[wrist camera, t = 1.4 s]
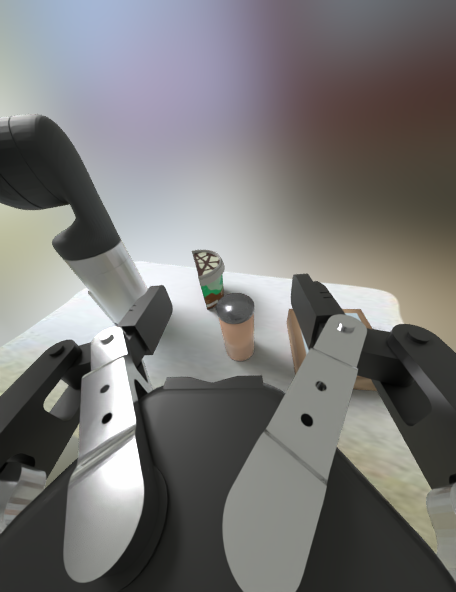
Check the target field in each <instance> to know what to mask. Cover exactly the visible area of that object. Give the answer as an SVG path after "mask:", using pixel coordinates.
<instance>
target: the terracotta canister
mask: <svg viewBox="0 0 456 592" xmlns="http://www.w3.org/2000/svg"><path fill="white" fill-rule="evenodd" d="M216 310H217V315H218V317H219V321H220V325H221V330H222V334H223V339H224V343H225V348H226V352H227V354H228V356H229V357H230V358H231V359H233V360H236V361H244V360H247V359H249V358H250V357H251V356H252V354H253V352H254V302H253V300H252V299H251V298H250V297H249V296H247V295H245V294H241V293H232V294H228V295H226V296H224V297H222V298H221V299H220V300H219V301H218V303H217V305H216Z"/></svg>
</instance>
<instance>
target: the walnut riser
mask: <svg viewBox="0 0 456 592" xmlns="http://www.w3.org/2000/svg"><path fill="white" fill-rule="evenodd" d="M342 310H343V311H344V313H345V314H346V315H349V316H352V317H354V318H356V319H358V320H360V321H361V322H362V323H363V324H364V325H365V326H366V328H369V329H372V327H371V326H370V324H369V322H368V321H367V319H366V317H365V316H364V314H363V312H362V311H361V309H342ZM287 328H288V334H289V340H290V346H291V351H292V357H293V363H294V369H295V375H296V373H297V371H298V370H299V368H300V366H301V364H302V362H303V360H304V359H305V357H306V355H307V353H308V351H309V350H308V347H307V344H306V342H305V339H304V337H303V334H302V331H301V329H300V326H299V323H298V321H297V318H296V316H295V313H294V310H293V309H289V312H288V318H287ZM353 389H358V390H372V391H377V389H376V388H375V386H374V384H373V382H372V380H371V379H369V378H365V377H361V376H357V377H356V380H355V384H354V387H353Z"/></svg>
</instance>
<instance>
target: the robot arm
mask: <svg viewBox="0 0 456 592" xmlns="http://www.w3.org/2000/svg"><path fill="white" fill-rule="evenodd" d="M0 203H2V204H5V205H8V206H11V207H14V208H18V209H23V210H41V209H47V208H53V207H58V206H63V205H68V204H70V205H71V207H72V209H73V211H74V214H75V216H76V219H75V221H74V222H73V224H72V225H71V226H70V227H68V228H67V229H65V230H64V231H62V232H61V233H59V234H58V235H57V236H56V237H55V238H54V239H53V241H52V245H53V247H54V249H55V250H56V251H57V252H58V254H59V255H60V256H61V257H62V258H63V260H64V261H65V262H66V263H67V264H68V265H69V267H70V268H71V269H72V270H73V272H74V273H75V274H76V275H77V276H78V277H79V279H80V280H81V281H82V282H83V283H84V285H85V286H86V287H87V288H88V289H89V291H88V294H89V295H90V296H91V297H92V298H93V300H94V301H95V302H96V303H97V304H98V305H99V307H100V308H101V309H102V310H103V311H104V313H105V314H106V315H107V316H108V317H109V318H110V320H111V321H112V322H113V323H117V324H118V325H117V326H116V327H112V328H109V329H106V330H104V331H102V332H101V333H99V334H98V335H97V336H96V337H95V338H94V339H93V340H92V342H91V343H87V344H84V345H80V346H78V345H77V344H76V343H75V342H74V341H73V340H65V341H61V342H59V343H57V344H55V345H53V346H52V347H50V348H49V349H47V350H46V351H45V352H44V353H43V354H42V355H41V356H40V357H39V358H38V359H37V360H36V361H35V362H34V363H33V364H32V365H31V366H30V367H29V368H28V369H27V370H26V371H25V372H24V373H23V374H22V375H21V376H20V377H19V378H18V379H17V380H16V381H15V382H14V383H13V384H12V385H11V386H10V387H9V388H8V389H7V390H6V391H5V392H4V393H3V394H2V395H1V396H0V592H456V353H455V352H454V351H453V350H452V349H451V348H450V347H449V346H447V345H446V344H445V343H444V342H443V341H442V340H441V339H440V338H439V337H437V336H436V335H435V334H433V333H432V332H430V331H428V330H426V329H424V328H421V327H418V326H415V325H410V324H399V325H396V326H395V327H393V329H392V331H391V332H386V331H380V330H375V329H369V328H366V326H365V325H364V324H363V323H362V322H361V321H360V320H358V319H356V318H354V317H352V316H349V315H346V314H345V313H344V311H343V310H342V309H341V307H340V306H339V304H338V303H337V302H336V300H335V299H334V298H333V296H332V295H331V293H329V291H328V289H327V288H326V286H324V285H323V284H321V283H320V282H318V281H314V282H313V281H312V279H311V278H310V276H309V275H308V274H297V275H293V280H292V289H291V305H292V308H293V310H294V313H295V316H296V318H297V321H298V323H299V326H300V329H301V331H302V334H303V337H304V339H305V342H306V344H307V347H308V350H309V351H308V353H307V355H306V357H305V359H304V360H303V362H302V364H301V366H300V368H299V370H298V371H297V373H296V375H295V377H294V379H293V381H292V382H291V384H290V386H289V388H288V390H287V392H286V394H285V393H284V392H282V391H281V390H279V389H277V388H276V387H273V386H271V385H268V384H265V383H263V380H262V376H236V377H232V378H228V379H225V380H221V381H218V382H214V383H210V382H206V381H203V380H199V379H195V378H191V377H167V378H166V381H165V384H164V386H161V387H159V388H156V389H154V390H153V388H152V385H151V382H150V379H149V376H148V373H147V370H146V366H145V363H144V361H143V360H142V358H143V356H144V355H153V353H154V351H155V349H156V347H157V345H158V343H159V340H160V338H161V336H162V334H163V332H164V329H165V327H166V325H167V323H168V321H169V319H170V316H171V314H172V310H173V308H172V303H171V301H170V298H169V296H168V293H167V291H166V289H165V287H164V286H163V285H160V286H151V287H150V288H149V289H148V288H147V286H146V285H145V283H144V281H143V279H142V277H141V275H140V273H139V272H138V270H137V268H136V266H135V264H134V262H133V261H132V259H131V257H130V255H129V253H128V251H127V250H126V248H125V246H124V244H123V242H122V240H121V239H120V237H119V235H118V233H117V231H116V229H115V227H114V225H113V223H112V221H111V219H110V216H109V214H108V213H107V211H106V209H105V207H104V205H103V203H102V201H101V199H100V197H99V195H98V193H97V191H96V189H95V187H94V184H93V182H92V180H91V178H90V176H89V174H88V172H87V170H86V168H85V166H84V164H83V162H82V160H81V158H80V156H79V154H78V152H77V151H76V149H75V147H74V145H73V144H72V142H71V141H70V140H69V138H68V137H67V135H66V134H65V133H64V132H63V130H62V129H61V128H60V127H59V126H58V125H57V124H56V123H55V122H53V121H52V120H51V119H49V118H48V117H46V116H42V115H38V114H30V115H18V116H8V117H0ZM357 376H361V377H365V378H369V379H371V380H372V382H373V384H374V386H375V388H376V389H377V391H378V393H379V395H380V397H381V399H382V400H383V402H384V404H385V406H386V408H387V409H388V411H389V413H390V415H391V417H392V418H393V420H394V422H395V424H396V426H397V427H398V429H399V431H400V433H401V435H402V437H403V438H404V440H405V442H406V444H407V446H408V447H409V449H410V451H411V453H412V455H413V456H414V458H415V460H416V462H417V464H418V465H419V467H420V469H421V471H422V473H423V475H424V476H425V478H426V480H427V482H428V484H429V485H430V487H431V489H432V490H431V491H430V492H429V493H428V495H427V499H426V505H427V511H428V514H429V517H430V520H431V522H432V526H433V528H434V530H435V533H436V537H437V544H438V547H437V554H435V552H434V551H433V550H432V549H431V548H430V546H429V545H428V544H427V543H426V542H425V541H424V540H423V539H422V537H421V536H420V535H419V534H418V533H417V532H416V531H415V530H414V529H413V528H412V527H411V526H410V525H409V523H408V522H407V521H406V520H405V519H404V518H403V517H402V516H401V515H400V514H399V513H398V512H397V511H396V510H395V508H394V507H393V506H392V505H391V504H390V503H389V502H388V501H387V500H386V499H385V498H384V497H383V496H382V495H381V494H380V492H379V491H378V490H377V489H376V488H375V487H374V486H373V485H372V484H371V483H370V482H369V481H368V480H367V479H366V477H365V476H364V475H363V474H362V473H361V472H360V471H359V470H358V469H357V468H356V467H355V466H354V465H353V464H352V463H351V461H350V460H349V459H348V458H347V457H346V456H345V455H344V454H343V453H342V452H341V451H340V450H339V449H338V448H337V444H338V440H339V437H340V433H341V430H342V426H343V422H344V419H345V415H346V412H347V408H348V405H349V401H350V398H351V394H352V391H353V387H354V384H355V380H356V377H357ZM60 379H61V380H63V381H64V382H65V383H67V384H68V385H69V386H68V387H67V389H66V390H65V392H64V393H63V394H62V396H61V397H60V398H59V400H58V401H57V403H56V404H55V405H54V407H53V408H52V409H51V411H50V412H47V411H45V410H44V407H43V404H44V401H45V399H46V397H47V396H48V395H49V393H50V392H51V391H52V390H53V388H54V387H55V386H56V384H57V383H58V382H59V381H60ZM79 423H80V425H79V449H78V458H77V459H76V460H75V461H74V462H73V463H72V464H71V465H70V466H69V467H68V468H66V469H65V471H63V472H62V473H61V474H60V475H59V476H58V477H57V478H56V479H55V480H54V481H53V482H52V483H51V484H50V485H48V486H47V487H46V488H45V489H44V486H45V483H46V480H47V478H48V476H49V474H50V473H51V471H52V469H53V468H54V466H55V464H56V462H57V461H58V459H59V457H60V455H61V454H62V452H63V450H64V448H65V447H66V445H67V443H68V442H69V440H70V438H71V436H72V435H73V433H74V431H75V429H76V428H77V426H78V424H79Z"/></svg>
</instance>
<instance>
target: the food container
mask: <svg viewBox="0 0 456 592" xmlns="http://www.w3.org/2000/svg"><path fill="white" fill-rule="evenodd" d="M192 253H193V257H194V260H195V264H196V268H197V271H198V278H199V282H200V285H201V289H202V292H203V296H204V300H205V303H206V307H207V310H208V309H211V308H213V307H215V306H216V305H217V303H218V301H219V300H220V299H221V298H222V297H224V291H223V278H222V274H223V272H224V263H223V261H222V259H221V257H220V256H219V255H218V254H217V253H216V252H213V251H210V250H195V251H192Z"/></svg>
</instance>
